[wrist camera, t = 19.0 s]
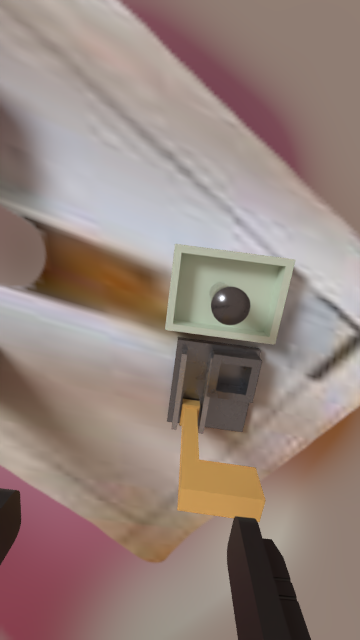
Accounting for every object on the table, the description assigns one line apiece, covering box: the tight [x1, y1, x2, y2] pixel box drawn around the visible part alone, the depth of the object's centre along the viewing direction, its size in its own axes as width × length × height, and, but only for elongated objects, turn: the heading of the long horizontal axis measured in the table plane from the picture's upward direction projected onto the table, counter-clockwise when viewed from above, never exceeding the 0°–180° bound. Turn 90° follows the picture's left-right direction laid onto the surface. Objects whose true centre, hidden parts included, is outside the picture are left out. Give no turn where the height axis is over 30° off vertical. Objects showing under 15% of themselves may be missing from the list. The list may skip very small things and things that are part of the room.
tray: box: [165, 244, 295, 345], centre depth 35 cm, size 16×12×3 cm
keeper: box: [177, 399, 265, 522], centre depth 33 cm, size 9×4×16 cm, turn 83°
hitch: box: [167, 337, 262, 433], centre depth 39 cm, size 13×15×4 cm
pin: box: [209, 282, 250, 325], centre depth 31 cm, size 4×4×10 cm
